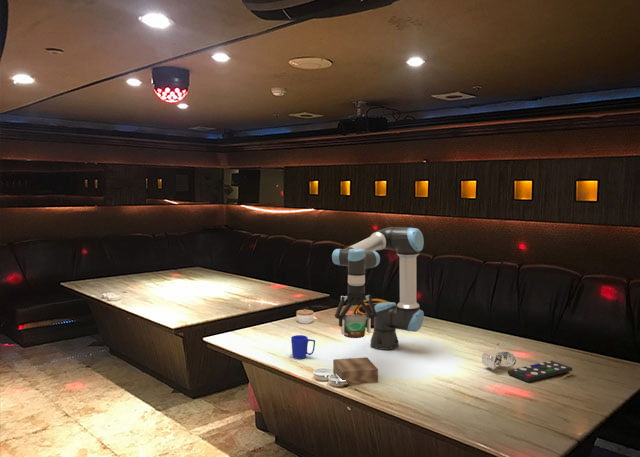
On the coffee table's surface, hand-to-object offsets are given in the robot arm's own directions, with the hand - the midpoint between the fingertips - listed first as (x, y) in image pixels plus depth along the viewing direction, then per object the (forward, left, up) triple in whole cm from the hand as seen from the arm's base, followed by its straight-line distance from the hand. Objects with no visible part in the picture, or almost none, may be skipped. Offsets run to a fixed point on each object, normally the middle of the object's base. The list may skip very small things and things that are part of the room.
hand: (355, 333), depth 220 cm
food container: (0, 0, -2) cm, 2 cm away
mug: (+18, -31, -20) cm, 41 cm away
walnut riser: (0, 0, -20) cm, 20 cm away
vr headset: (-70, 0, -20) cm, 73 cm away
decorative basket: (-40, -90, -21) cm, 101 cm away
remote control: (-87, +8, -21) cm, 90 cm away
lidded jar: (+6, -94, -20) cm, 96 cm away
